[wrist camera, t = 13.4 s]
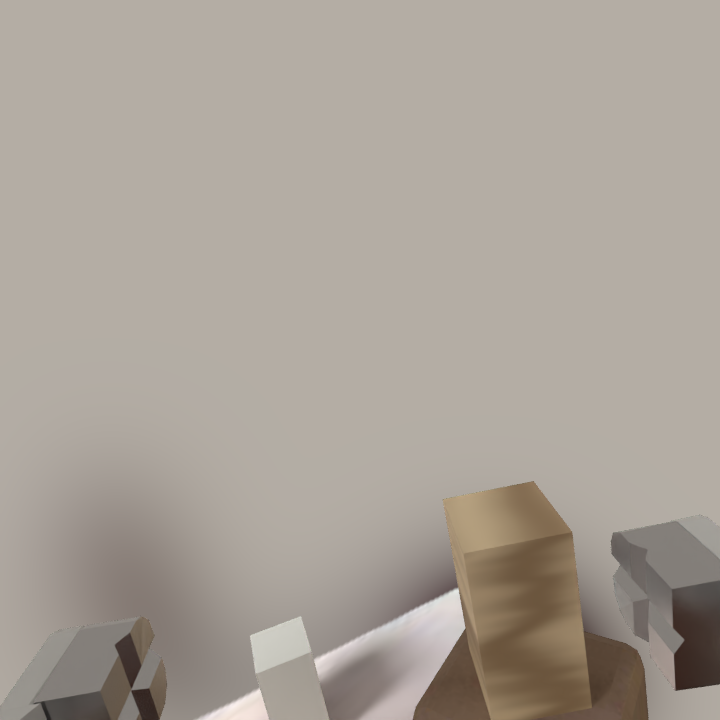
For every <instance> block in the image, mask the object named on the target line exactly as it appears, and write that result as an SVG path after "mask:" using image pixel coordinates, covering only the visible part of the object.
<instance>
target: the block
mask: <svg viewBox="0 0 720 720" xmlns="http://www.w3.org/2000/svg"><path fill="white" fill-rule="evenodd" d="M583 632H584V631H583ZM584 640H585V649H586V658H587V667H588V676H589V684H590V693H591V702H592V708H589V709H584V710H578V711H573V712H568V713H563V714H558V715H553V716H547V717H542V718H537V719H532V720H648V708H647V695H646V684H645V671H644V666H643V663H642V660H641V657H640V655H639V653H638V651H637V650H635V649H634V648H632V647H631V646H629V645H628V644H626V643H623V642H619V641H615V640H612V639H609V638H605V637H602V636H598V635H595V634H591V633H588V632H584ZM413 720H491V718H490V715H489V712H488V709H487V705H486V702H485V699H484V696H483V692H482V689H481V686H480V683H479V679H478V676H477V673H476V670H475V666H474V663H473V660H472V657H471V653H470V650H469V644H468V639H467V633H466V628H465V630H464V632H463V633H462V635H461V636H460V638H459V639H458V641H457V643H456V644H455V646H454V647H453V649H452V651H451V652H450V654H449V655H448V657H447V659H446V660H445V662H444V663H443V665H442V666H441V668H440V670H439V671H438V673H437V674H436V676H435V678H434V679H433V681H432V682H431V684H430V686H429V687H428V689H427V690H426V692H425V694H424V695H423V697H422V698H421V700H420V701H419V703H418V705H417V706H416V709H415V712H414V716H413Z"/></svg>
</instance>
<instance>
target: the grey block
mask: <svg viewBox="0 0 720 720" xmlns="http://www.w3.org/2000/svg"><path fill="white" fill-rule="evenodd" d="M250 639H251V646H252V652H253V659H254V666H255V673H256V677H257V680H258V683H259V687H260V690H261V693H262V697H263V700H264V703H265V707H266V710H267V713H268V717H269V720H329V716H328V712H327V708H326V705H325V701H324V697H323V693H322V689H321V686H320V682H319V678H318V674H317V671H316V667H315V663H314V659H313V656H312V652H311V649H310V645H309V642H308V638H307V635H306V632H305V629H304V625H303V622H302V618H301V616H300V617H297V618H295V619H293V620H290V621H287V622H284V623H282V624H279V625H277V626H274V627H272V628H269V629H266V630H264V631H261V632H258V633H256V634H253V635H250Z"/></svg>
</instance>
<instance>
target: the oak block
mask: <svg viewBox="0 0 720 720" xmlns="http://www.w3.org/2000/svg"><path fill="white" fill-rule="evenodd" d="M443 503H444V509H445V515H446V520H447V526H448V532H449V537H450V543H451V548H452V554H453V559H454V565H455V571H456V576H457V582H458V588H459V594H460V599H461V605H462V610H463V616H464V622H465V627H466V633H467V639H468V644H469V650H470V653H471V657H472V660H473V663H474V666H475V670H476V673H477V676H478V679H479V683H480V686H481V689H482V692H483V696H484V699H485V702H486V705H487V709H488V712H489V715H490V718H491V720H532V719H537V718H542V717H547V716H553V715H558V714H563V713H568V712H573V711H578V710H584V709H589V708H592V702H591V693H590V684H589V676H588V667H587V658H586V649H585V640H584V632H583V624H582V614H581V605H580V597H579V588H578V579H577V570H576V561H575V553H574V544H573V535H572V531H571V530H570V528H569V527H568V526H567V525H566V523H565V522H564V521H563V519H562V518H561V517H560V515H559V514H558V513H557V511H556V510H555V509H554V508H553V506H552V505H551V504H550V502H549V501H548V500H547V498H546V497H545V496H544V494H543V493H542V492H541V490H540V489H539V488H538V486H537V485H536V484H535V483H534V481H532V482H527V483H522V484H517V485H512V486H507V487H503V488H497V489H492V490H487V491H482V492H477V493H472V494H467V495H462V496H457V497H452V498H446V499H443Z"/></svg>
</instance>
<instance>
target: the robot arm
mask: <svg viewBox="0 0 720 720" xmlns="http://www.w3.org/2000/svg"><path fill="white" fill-rule="evenodd" d="M611 551H612V555H613V556H614V557H615V559H616V560H617V561H618V562H619V564H620V566H619V568H618V570H617V571H616V573H615V574H614V576H613V580H614V590H615V596H616V599H617V602H618V605H619V609H620V611H621V613H622V615H623V617H624V619H625V621H626V623H627V625H628V626H629V627H630V629H631V630H632V632H633V633H634V634H635V635H636V636H638V637H640V638H642V639H644V640H646V641H648V642H649V645H650V657H651V658H652V659H653V661H654V662H655V663H656V665H657V666H658V667H659V669H660V670H661V672H662V673H663V675H664V676H665V677H666V678H667V680H668V681H669V683H670V684H671V685H672V687H673V688H674V690H676V691H677V690H684V689H691V688H698V687H705V686H712V685H719V684H720V527H719V526H718V525H717V524H716V523H714V522H713V521H712V520H710V519H709V518H708V517H704V516H702V515H697V516H692V517H687V518H683V519H678V520H673V521H671V522H668V523H662V524H657V525H652V526H646V527H641V528H636V529H630V530H625V531H620V532H615V533H613V535H612V539H611ZM153 638H154V633H153V630H152V628H151V625H150V622H149V620H148V619H146V618H144V617H136V618H129V619H124V620H117V621H110V622H103V623H97V624H91V625H87V626H79V627H73V628H68V629H63V630H58V631H56V632H54V633H52V634H51V635H50V636H49V638H48V639H47V640H46V642H45V643H44V645H43V646H42V648H41V649H40V650H39V652H38V653H37V654H36V656H35V657H34V659H33V660H32V662H31V663H30V664H29V666H28V667H27V669H26V670H25V672H24V673H23V674H22V676H21V677H20V679H19V680H18V681H17V683H16V684H15V686H14V687H13V689H12V690H11V691H10V693H9V694H8V696H7V697H6V698H5V700H4V701H3V703H2V704H1V706H0V720H160V717H161V714H162V711H163V708H164V705H165V698H166V688H167V680H166V672H165V667H164V664H163V660H162V657H160V656H159V655H158V654H156V653H155V652H154V651H153V650H151V649H150V645H151V643H152V641H153Z"/></svg>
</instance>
